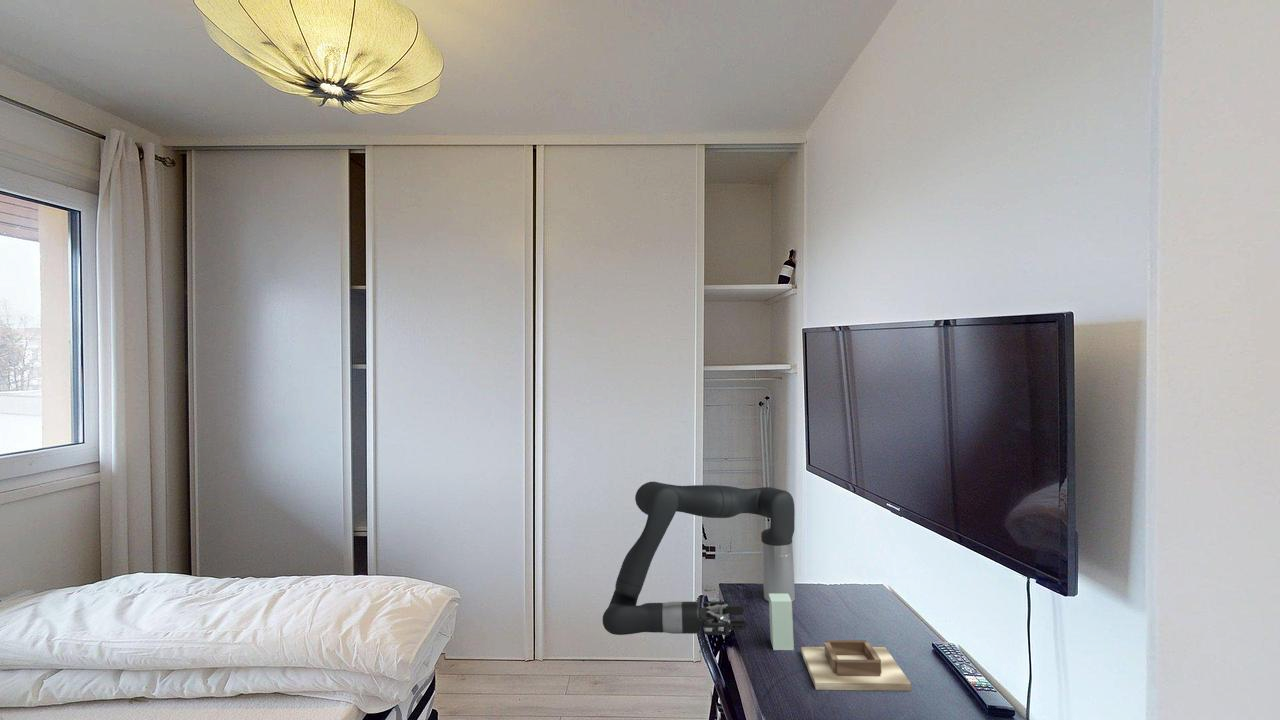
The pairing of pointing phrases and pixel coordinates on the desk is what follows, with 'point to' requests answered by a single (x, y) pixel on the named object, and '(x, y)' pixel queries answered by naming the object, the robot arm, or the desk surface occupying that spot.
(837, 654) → the socket board
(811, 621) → the desk surface
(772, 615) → the pillar
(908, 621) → the desk surface
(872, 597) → the desk surface
